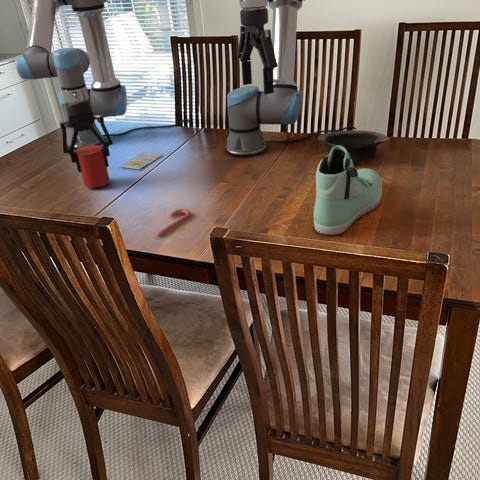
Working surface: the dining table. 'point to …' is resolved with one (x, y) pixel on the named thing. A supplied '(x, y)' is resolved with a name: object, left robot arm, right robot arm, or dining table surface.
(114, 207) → the dining table surface
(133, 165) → the baking ingredient package
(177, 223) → the candy cane
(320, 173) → the sneaker
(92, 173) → the can
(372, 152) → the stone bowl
